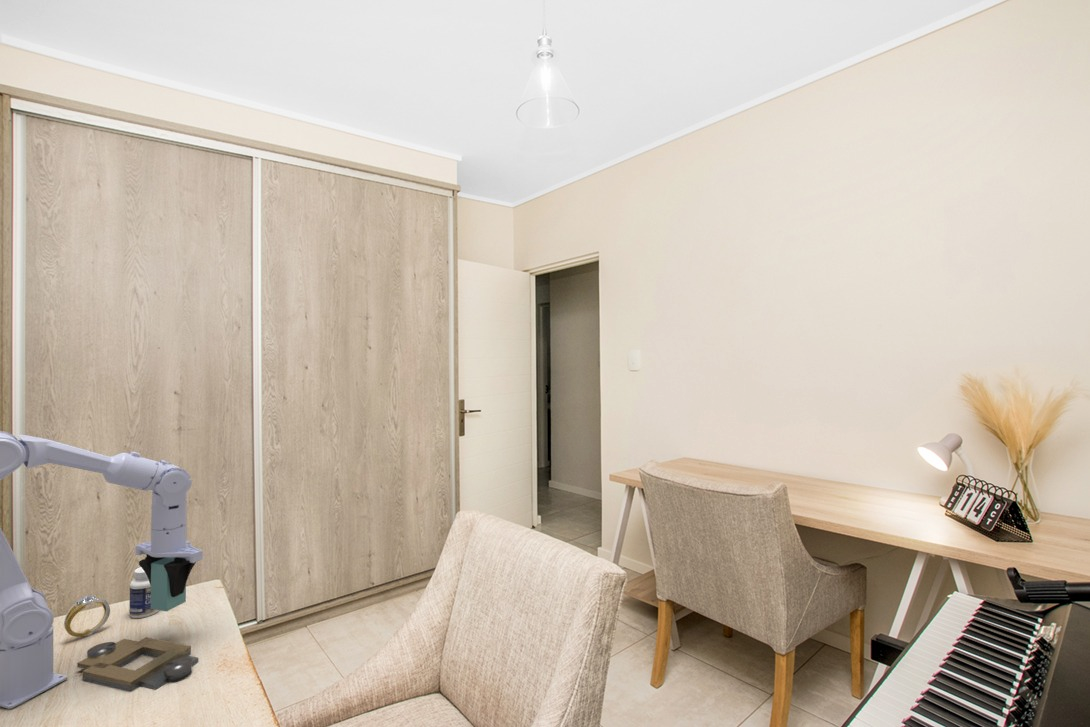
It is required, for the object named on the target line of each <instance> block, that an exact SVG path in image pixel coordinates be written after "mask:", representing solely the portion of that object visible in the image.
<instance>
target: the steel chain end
mask: <svg viewBox="0 0 1090 727" xmlns="http://www.w3.org/2000/svg"><path fill="white" fill-rule="evenodd" d="M191 655H192V649H191V650H190V651H189V652H187V653H185V654H184V655H182V656H181V657H179V658H177V659H175V660H173V661H171V662H169V663H167V664H166V665H165V666H164V667H163V668H161V669H159V670H158V671H156V672H154V673H153V674H151V675H149V676H148V677H146V678H145V679H143V680H141V681H140V682H138V683H136V684H135V685H133V686H131V687H130V686H125V685H121V684H116V683H112V682H108V681H103V680H99V679H95V678H90V677H86V676H81V677H82V678H81V679H82V681H84V682H89V683H93V684H96V685H97V684H98V685H101V686H106V687H111V688H115V689H118V690H122V691H123V690H124V691H127V692H133V691H134V690H135V689H138V688H139V687H142V688H143V687H144V688H148V689H152V690H158V689H159V688H160V687H162V686H164V685H165V684H167V683H177V682H179V681H182V680H184V679H186V678H188V677H189V676H190V675H191V674H192V670H193V669H192V668H193V666H194V665H196V664H198V663H199V657H197V656H191ZM142 656H144V657H145V656H146V657H150V658H154V659H155V658H157V657H159V656H160V654H156V653H151V652H146V651H142V652H140V653H138V654H136V655H135V656H133V657H131V658H129V659H127V660H126V661H124V662H122V663H120V664H118V665H117V667H122V668H123V667H124V666H126V665H128V664H129V663H132V662H133V661H135V660H137V659H139V658H141V657H142Z"/></svg>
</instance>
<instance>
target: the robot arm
mask: <svg viewBox="0 0 1090 727" xmlns="http://www.w3.org/2000/svg"><path fill="white" fill-rule="evenodd" d="M16 435H17V437H19V439H18V438H17V437H16V436H15V435H13V434H11V433H9V432H7V431H4V430H3V431H2V430H0V481H2V480H3V479H5V478H7V477H8V476H10V475H11V474H12V473H13V472H15V471H16V470H18V469H19V468H20V467H21V466H22V465H24V466H25V467H26V469H29V468H35V467H39V466H42V465H45V464H46V465H47V464H53V465H58V466H63V467H69V468H73V469H78V470H82V471H83V470H84V471H88V472H94V473H99V474H102V475H103V478H104V480H105V482H106V483H109V484H112V485H116V486H117V485H118V486H123V487H126V488H132V489H135V490H140V491H145V492H146V491H152V492H151V497H152V501H151V507H150V508H151V514H150V515H151V518H150V519H151V520H150V527H151V528H150V541H149V542H148V541H145V542H144V541H143V542H142V543H139V544H136V545H135V555H136V556H142V555H146V556H145V558H144V559H140V560H139V561H138V565H139V567H142V569H143V570H144V572H145V573H146V575H147V577H148V579H149V582H150V585H151V563H153V562H156V561H158V560H161V559H163V558H166V557H167V558H174V561H172V562H169V563H167V564H164V568H165V570H166V571H167V574H168V577H169V582H170V593H171V596H172V597H176V596H178V595H180V594H182V593H183V592H184V589H185V585H186V586H187V582H188V579H189V576H190V574H191V571H193V570H192V569H193V568H194V566H195V564H196V563H197V562H199V561H202V560H203V553H204V552H203V551H204V550H203V549H199V548H196V547H195V546H192V545H191V540H187V539H188V538H187V536H188V535H187V534H188V533H187V529H188V528H187V526H188V525H187V523H188V522H187V521H188V517H187V516H188V500H187V496H188V495H187V492H188V491H189V490H190V488H191V487H192V484H193V480H192V479H191V476H190V473H188V472H187V470H185V469H184V468H181V467H179V466H178V465H175V464H172V463H171V462H168V461H167V460H163V459H160V460H158V461H157V460H153V459H150V458H147V457H142V456H141V453H139V452H137V451H133V450H132V451H130V453H127V452H121V453H118V454H114V455H111V456H108V455H105V454H101V453H98V452H94V451H92V450H88V449H84V448H80V447H77V446H74V445H71V444H66V443H62V442H60V441H59V442H58V441H56V440H52V439H48V438H44V437H38V436H31V435H26V434H20V433H19V434H16ZM1 527H2V526H0V707H2V708H6V709H8V710H9V709H10V710H11V709H14V708H15V707H17V706H19V705H21V704H23V703H25V702H27V701H28V700H30V699H32V698H35V697H37V696H39V695H40V694H41V693H43V692H45V691H48V690H49V689H51V688H53V687H55V686H57V685H59V684H60V683H62V682H64V681H65V680H67V679H68V676H67V675H64V674H60V673H55V672H54V625H53V624H54V619H55V617H54V613H53V611H52V610H51V609H50V608H49V605H48V604H47V599H46V596H45V595H44V593H42V592H41V591H39V590H37V589H34V588H33V587H32V585H31V584H30V582H29V580H28V579H27V576H26V575H25V573H24V571H23V569H22V567H21V565H20V563H19V561H18V559H17V556H16V555H15V553H14V551H13V549H12V547H11V545H10V544H9V541H8V539H7V537H6V536H5V532H4V531H3V529H2V528H1Z"/></svg>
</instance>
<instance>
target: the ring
mask: <svg viewBox="0 0 1090 727" xmlns="http://www.w3.org/2000/svg"><path fill="white" fill-rule="evenodd" d="M93 603H94V604H98V605H101V606H102V608H103V616H102V618H101V620H100V621H99V623H98V624H97V625H96V626H94V627H92V628H91V629H89V628H88V629H85V630H84V631H80V632H79V631H78V632H77V631H74V630H72V627H71V623H72V621H73V619H74V617H75V616H76V615H77V614H79V612H81V611H82V610H83V609H85V608H86V606H89V605H90V604H93ZM110 613H111V608H110V605H109V603H108V601H107V600H106V599H104V598H97V594H94V596H92V595H91V596H89V594H87V595H85V596H82V597H81V598H80V599H79V600H78V601H77V600H76V601H75V603H74V604H73V605H72V606H71V607H70V608H69V610H68V611H67V612H66V614H65V617H64V621H63V627H64V630H65V631H66V632H67V634H68V635H70V636H72V637H76V638H81V637H89V636H91V635H92V634H94V633H96V632H97V631H99V630H100V629H101V628H103V626H104V625H105V624H106V622H107V621H108V619H109V617H110Z"/></svg>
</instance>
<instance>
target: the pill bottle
mask: <svg viewBox="0 0 1090 727" xmlns="http://www.w3.org/2000/svg"><path fill="white" fill-rule="evenodd" d="M133 578H134V579H132V580H131V581H130V584H129V610H128V612H129V614H128V615H129V617H130V618H132V619H140V618H146V617H150V616H152V615H155V614H156V613H158V612H159V611H160V610H156V609H151V585H150V582H149V579H148V577H147V575H146V573H145V572H144V570H143V569H142V567H141V566H139V567H138V568H135V570H134V571H133Z"/></svg>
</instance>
